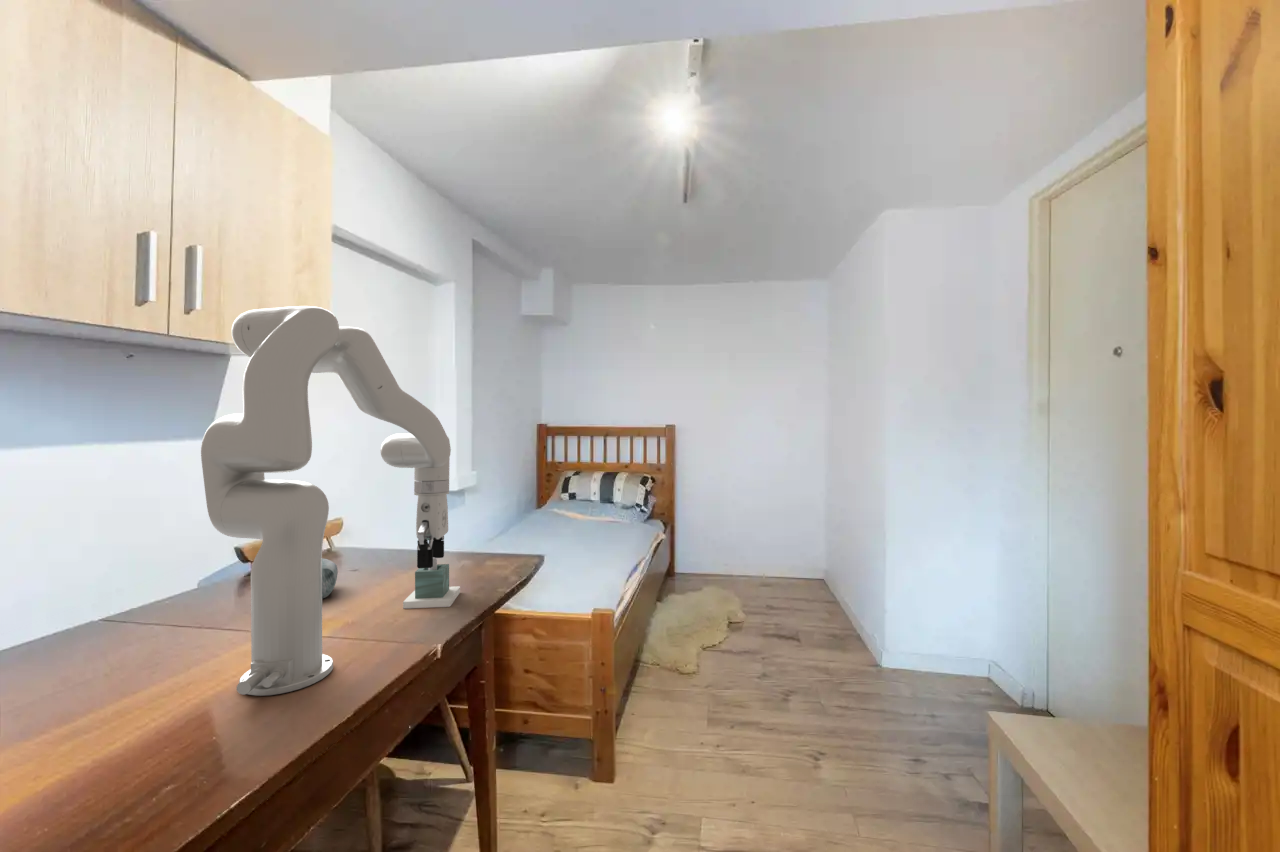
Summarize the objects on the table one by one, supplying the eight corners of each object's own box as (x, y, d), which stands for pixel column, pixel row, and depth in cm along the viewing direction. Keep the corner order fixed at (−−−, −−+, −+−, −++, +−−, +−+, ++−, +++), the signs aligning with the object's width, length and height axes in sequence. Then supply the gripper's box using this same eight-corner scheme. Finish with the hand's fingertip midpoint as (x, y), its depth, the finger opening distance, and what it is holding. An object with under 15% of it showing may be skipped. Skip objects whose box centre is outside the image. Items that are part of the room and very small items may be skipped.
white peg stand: (450, 606, 118) (449, 562, 118) (403, 608, 117) (402, 563, 117) (460, 592, 128) (459, 551, 128) (416, 594, 127) (416, 552, 127)
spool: (345, 585, 124) (323, 548, 124) (302, 610, 119) (279, 572, 119) (349, 583, 136) (329, 550, 136) (310, 606, 131) (289, 572, 131)
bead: (442, 597, 120) (442, 571, 120) (415, 598, 119) (414, 571, 119) (449, 589, 126) (449, 564, 126) (422, 590, 125) (422, 564, 125)
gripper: (439, 491, 114) (438, 571, 114) (457, 484, 132) (456, 553, 131) (402, 491, 114) (401, 572, 113) (425, 484, 131) (424, 554, 130)
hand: (431, 562), depth 122 cm, fingers open, 9 cm apart
